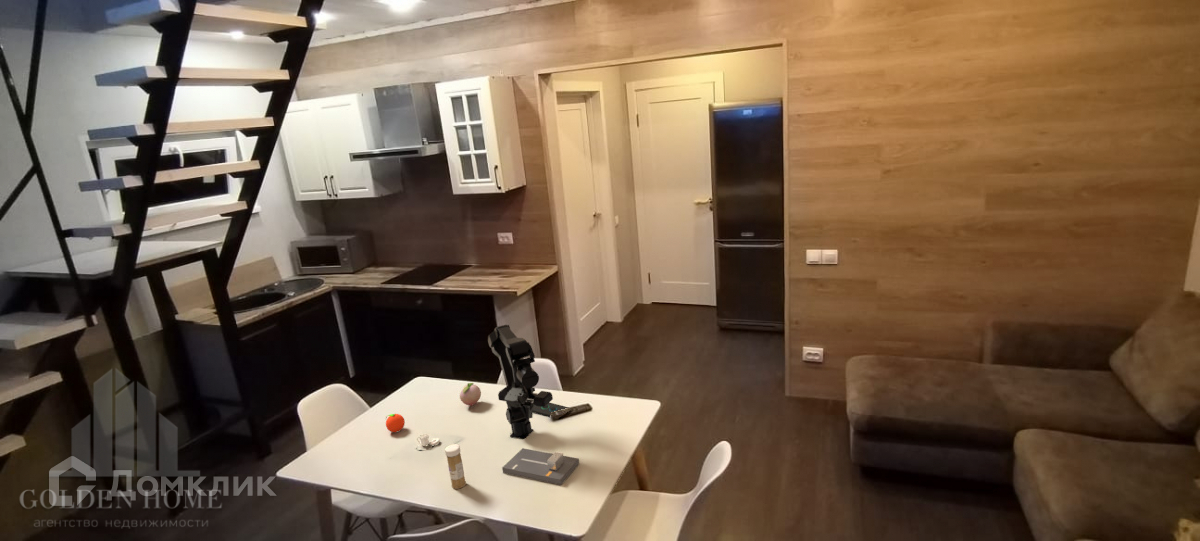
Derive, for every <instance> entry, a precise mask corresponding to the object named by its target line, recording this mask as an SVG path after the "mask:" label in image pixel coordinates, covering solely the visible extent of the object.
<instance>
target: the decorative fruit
mask: <svg viewBox="0 0 1200 541" xmlns="http://www.w3.org/2000/svg"><path fill="white" fill-rule="evenodd" d="M481 395H482V392H481V388H480V387H479V386H478V385H476V384H474V383H473V382H468V383H467V384H465V385H464V386H463V387H462V389H461V391H460V393H459V399H460V401H461V403H463V404H464V405H466V406H473V405H475V404H476V403H478V402H479V400H480V399H481Z"/></svg>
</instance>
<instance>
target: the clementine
mask: <svg viewBox="0 0 1200 541" xmlns="http://www.w3.org/2000/svg"><path fill="white" fill-rule="evenodd" d="M385 420H386V422H385V426H386V428H387V430H388V431H389V432H391V433H398V432H400V431H401V430H403V429H404V426H405V423H406V422H405V418H404V417H403V415H402V414H399V413H391V414H388V415H387V416H385ZM397 431H398V432H397Z"/></svg>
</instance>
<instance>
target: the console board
mask: <svg viewBox="0 0 1200 541" xmlns="http://www.w3.org/2000/svg"><path fill="white" fill-rule="evenodd" d="M553 454H554V453H551V452H545V451H539V450H534V449H529V448H524V447H522V448H521V449H520V450H519V451H518V452H517V453H516V454H515V455H514V456H513V457H512V458H511V459H510V460H509V461H508V462H506V463H505V464H504V465H503V466H502V467H501V469H502V473H503V474H507V475H510V476H517V477H521V478H525V479H530V480H534V481H539V482H544V483H549V484H553V485H559V486H563V484H564V482H565V481H566V480H567V479H568V478H569V477H570V475H572V473H573V472H574V471H575V470H576V469H577V467H579V465H580V460H579V458H577V457H572V456H568V455H563V457H564V463H563V464H562V465H561V466H560V467H559V468H558V469H557V470H552V469H548V464H547V460H548V459H549V458H550V457H551V456H552V455H553Z"/></svg>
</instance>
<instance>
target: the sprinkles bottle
mask: <svg viewBox="0 0 1200 541" xmlns="http://www.w3.org/2000/svg"><path fill="white" fill-rule="evenodd" d="M444 452H445V453H444V454H445V456H446V459H447V464H448V465H447V467H448V471H449V477H450V482H451V487H452V488H453V489H456V490H458V489H462V488H463V487H464V486H466V484H467V482H466V478H465V469H464V465H463V460H462V454H461V447H460V445H459V444H456V443H454V444H450V445H448V446H446V447H445V449H444Z"/></svg>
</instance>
